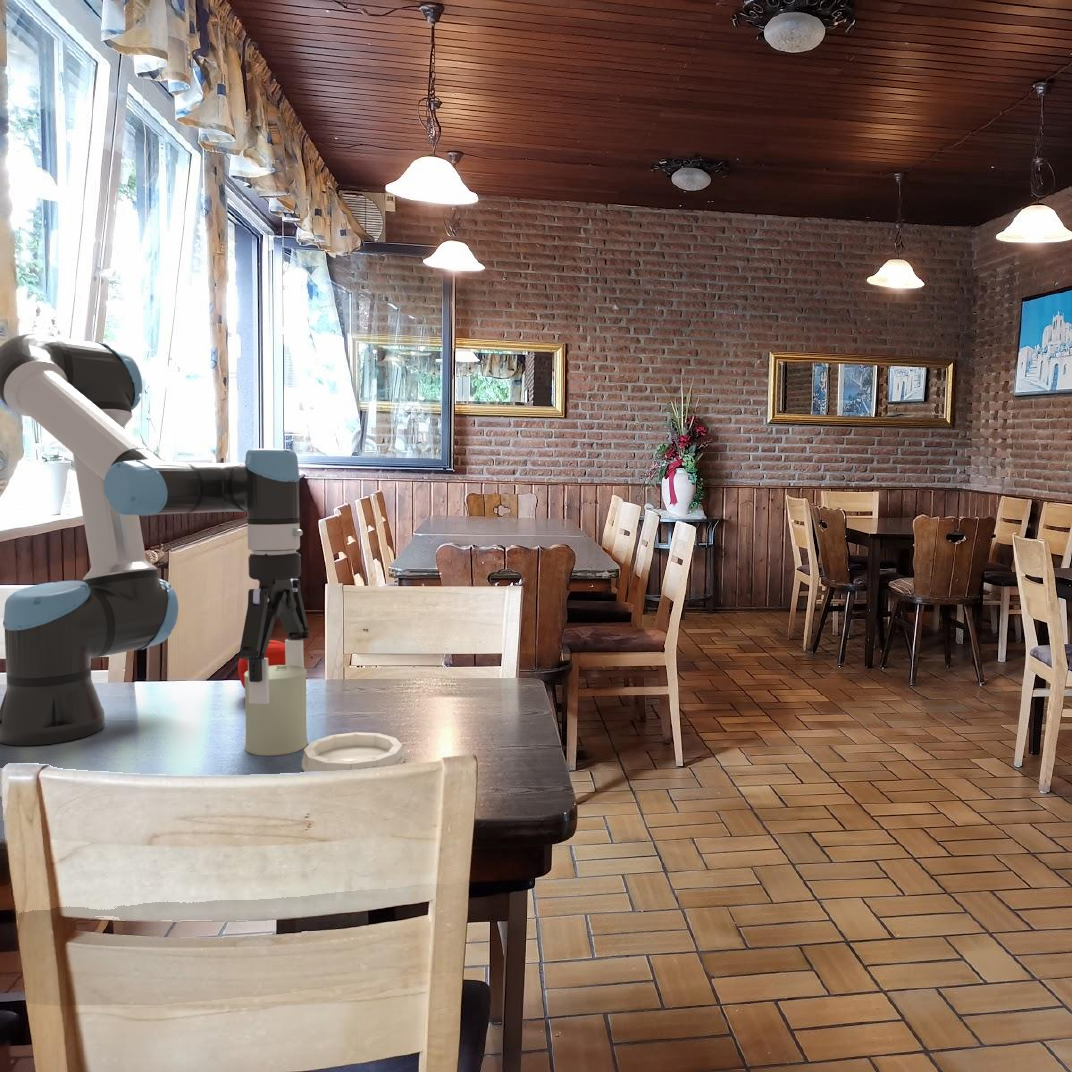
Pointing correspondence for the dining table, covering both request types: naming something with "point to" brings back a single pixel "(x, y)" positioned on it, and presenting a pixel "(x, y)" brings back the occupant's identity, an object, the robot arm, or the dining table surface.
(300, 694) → the can
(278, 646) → the tomato
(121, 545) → the robot arm
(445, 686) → the dining table surface
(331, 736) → the saucer
